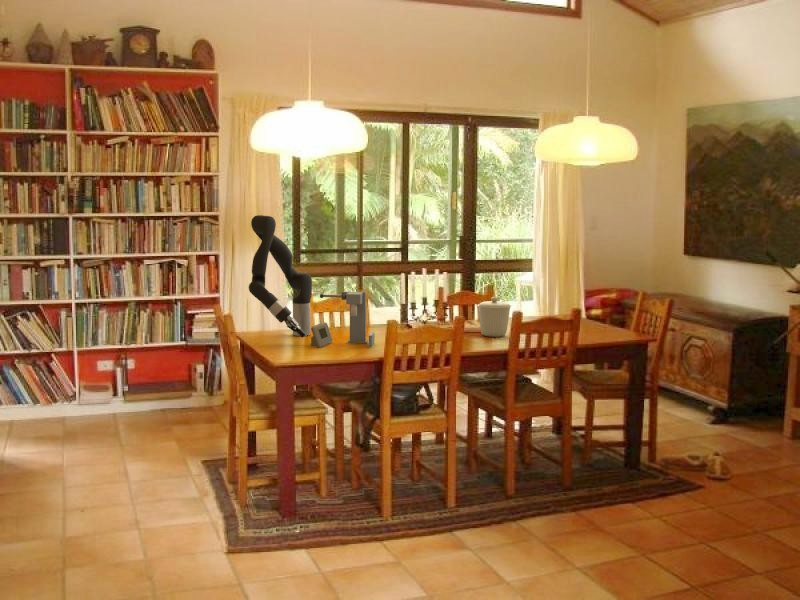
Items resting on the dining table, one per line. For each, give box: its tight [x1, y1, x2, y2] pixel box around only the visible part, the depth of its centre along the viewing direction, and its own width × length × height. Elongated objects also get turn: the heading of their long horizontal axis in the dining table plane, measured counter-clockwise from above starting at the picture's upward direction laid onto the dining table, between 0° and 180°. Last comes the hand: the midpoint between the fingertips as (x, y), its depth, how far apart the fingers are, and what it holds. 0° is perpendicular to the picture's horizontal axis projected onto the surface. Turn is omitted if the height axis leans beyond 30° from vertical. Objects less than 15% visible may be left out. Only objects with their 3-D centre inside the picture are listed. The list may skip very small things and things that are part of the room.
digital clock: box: [310, 321, 334, 348], centre depth 431 cm, size 16×9×11 cm, turn 150°
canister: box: [477, 296, 512, 338], centre depth 463 cm, size 18×18×21 cm
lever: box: [319, 293, 346, 299], centre depth 434 cm, size 2×14×2 cm, turn 85°
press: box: [341, 291, 376, 348], centre depth 431 cm, size 14×17×26 cm
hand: (304, 335), depth 432 cm, fingers closed
